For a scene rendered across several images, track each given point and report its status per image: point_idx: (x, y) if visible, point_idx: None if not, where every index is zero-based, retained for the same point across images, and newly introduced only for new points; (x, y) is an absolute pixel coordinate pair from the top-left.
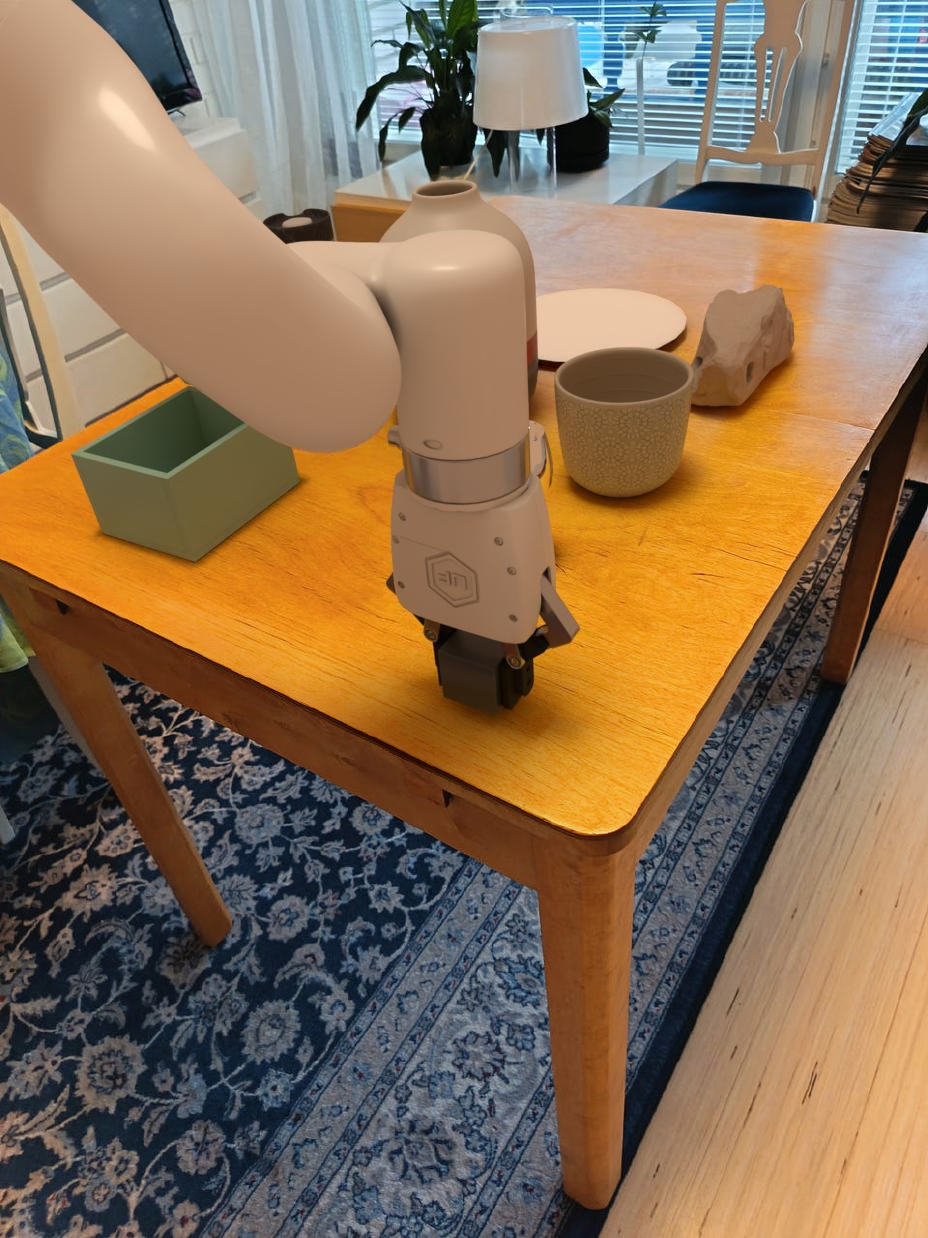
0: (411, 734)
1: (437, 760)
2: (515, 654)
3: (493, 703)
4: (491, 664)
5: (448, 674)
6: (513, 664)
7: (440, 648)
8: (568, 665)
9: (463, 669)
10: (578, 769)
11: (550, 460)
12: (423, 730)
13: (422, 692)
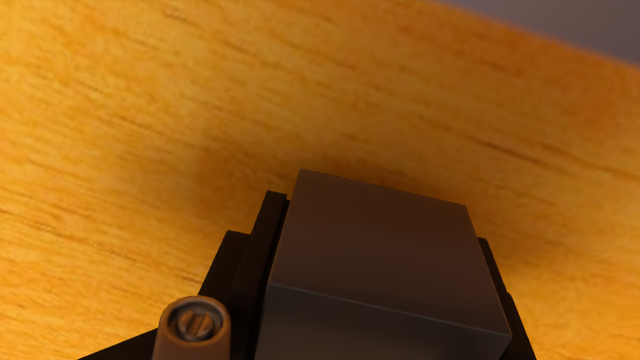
0: (534, 86)
1: (437, 6)
2: (171, 351)
3: (303, 192)
4: (286, 302)
5: (457, 259)
6: (211, 312)
7: (504, 347)
8: None
9: (400, 276)
10: (71, 63)
11: None
12: (501, 107)
13: (529, 226)
